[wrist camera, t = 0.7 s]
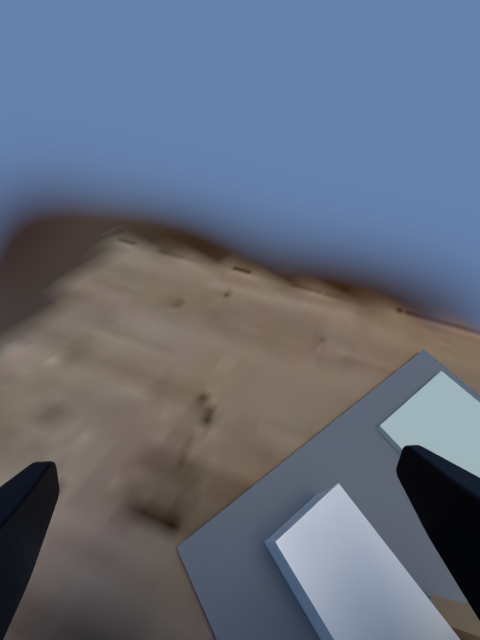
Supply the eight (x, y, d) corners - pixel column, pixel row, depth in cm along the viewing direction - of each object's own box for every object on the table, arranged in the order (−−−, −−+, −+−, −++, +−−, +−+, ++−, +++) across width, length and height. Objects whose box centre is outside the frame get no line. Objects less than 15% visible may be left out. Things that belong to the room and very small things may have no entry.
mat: (655, 549, 17) (667, 549, 16) (442, 1150, 8) (456, 1188, 7) (419, 353, 25) (423, 349, 24) (177, 547, 16) (176, 547, 15)
